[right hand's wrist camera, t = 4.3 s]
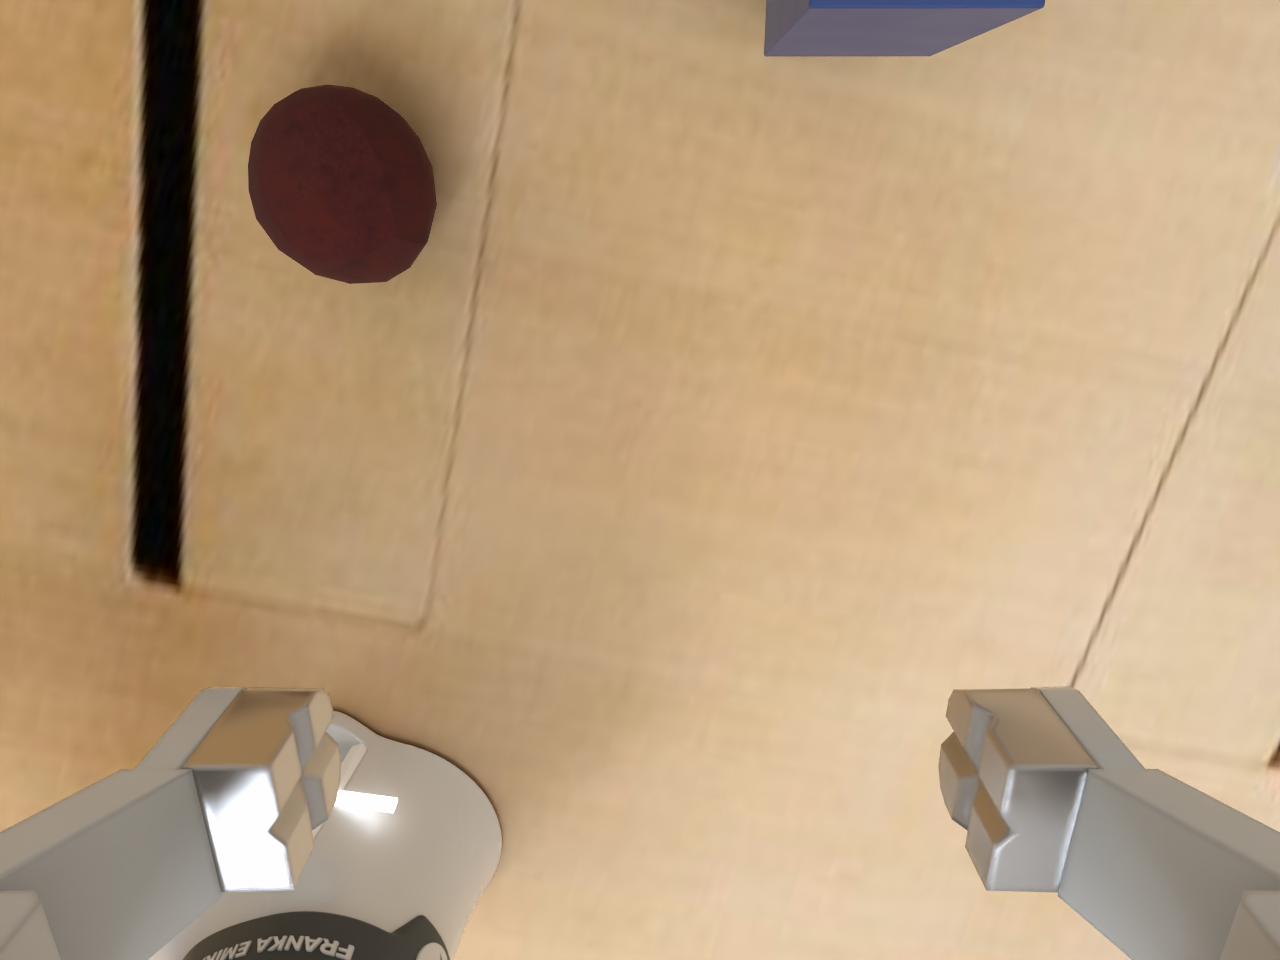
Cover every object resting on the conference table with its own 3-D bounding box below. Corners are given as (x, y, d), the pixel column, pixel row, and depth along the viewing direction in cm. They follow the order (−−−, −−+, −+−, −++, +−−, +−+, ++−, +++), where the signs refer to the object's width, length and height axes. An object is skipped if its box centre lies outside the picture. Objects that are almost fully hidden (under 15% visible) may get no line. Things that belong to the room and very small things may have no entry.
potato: (415, 70, 35) (362, 48, 28) (478, 250, 38) (443, 268, 31) (257, 122, 36) (171, 113, 29) (330, 295, 38) (266, 322, 32)
